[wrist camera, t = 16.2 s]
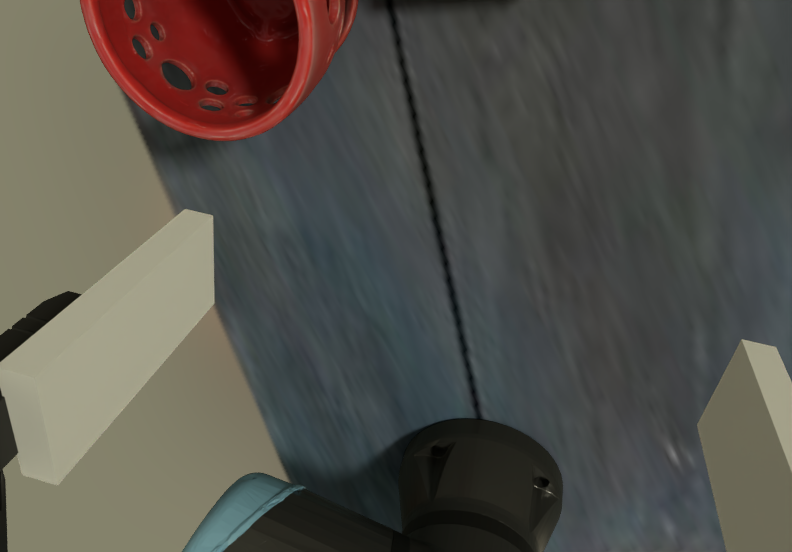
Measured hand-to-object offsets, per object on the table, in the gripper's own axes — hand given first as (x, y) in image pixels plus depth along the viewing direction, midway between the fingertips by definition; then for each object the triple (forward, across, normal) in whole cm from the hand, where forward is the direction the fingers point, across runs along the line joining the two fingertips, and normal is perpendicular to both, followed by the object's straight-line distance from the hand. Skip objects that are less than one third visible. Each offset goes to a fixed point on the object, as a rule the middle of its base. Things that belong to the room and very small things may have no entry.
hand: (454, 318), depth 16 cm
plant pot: (+30, +16, -2) cm, 34 cm away
